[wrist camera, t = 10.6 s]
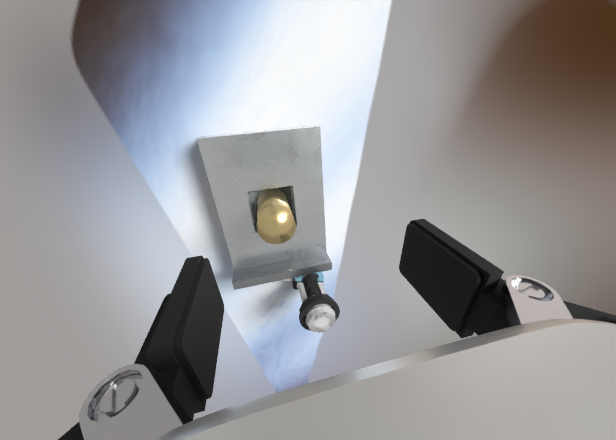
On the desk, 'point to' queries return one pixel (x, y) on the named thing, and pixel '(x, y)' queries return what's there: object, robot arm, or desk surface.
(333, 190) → the desk surface
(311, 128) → the jig
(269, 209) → the gold domed cylinder
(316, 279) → the push button
